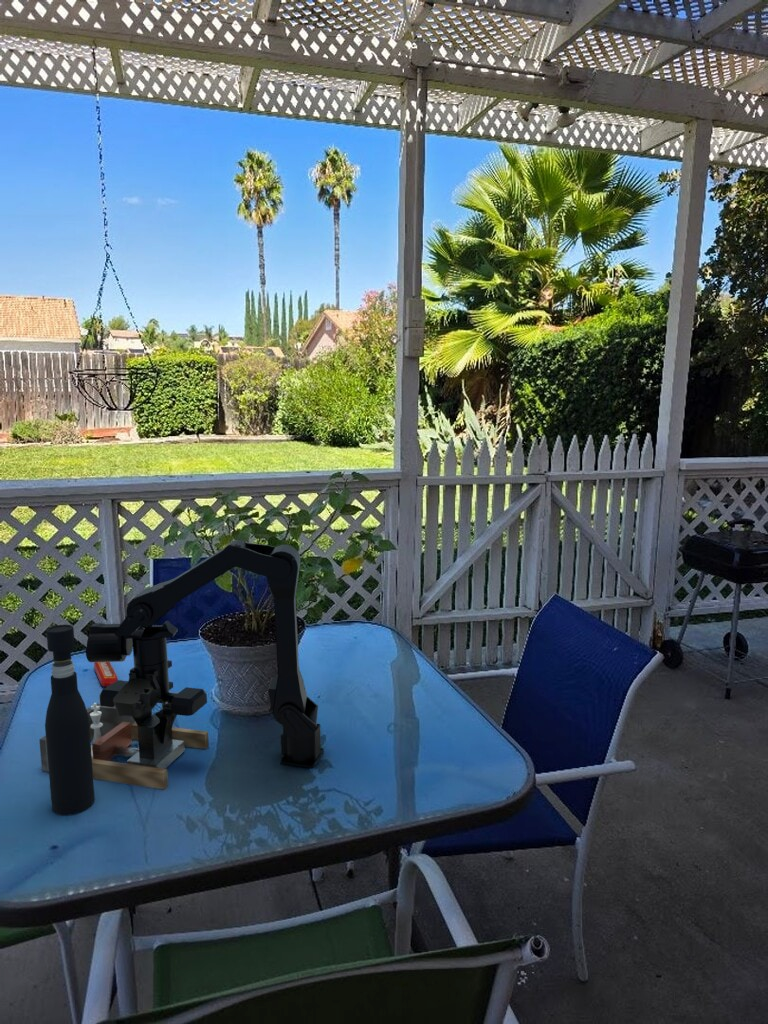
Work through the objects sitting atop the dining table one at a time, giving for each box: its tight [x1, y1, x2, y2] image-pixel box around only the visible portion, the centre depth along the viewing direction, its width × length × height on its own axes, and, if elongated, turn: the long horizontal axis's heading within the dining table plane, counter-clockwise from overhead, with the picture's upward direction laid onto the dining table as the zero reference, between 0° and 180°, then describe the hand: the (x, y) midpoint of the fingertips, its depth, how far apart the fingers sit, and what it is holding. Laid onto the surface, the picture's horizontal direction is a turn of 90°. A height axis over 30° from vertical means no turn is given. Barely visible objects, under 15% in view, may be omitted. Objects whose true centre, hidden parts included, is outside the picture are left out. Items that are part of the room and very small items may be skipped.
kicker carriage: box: [91, 711, 186, 769], centre depth 124 cm, size 13×9×8 cm
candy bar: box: [93, 662, 119, 687], centre depth 163 cm, size 16×4×3 cm, turn 30°
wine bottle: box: [44, 624, 96, 816], centre depth 109 cm, size 6×6×30 cm
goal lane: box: [38, 702, 210, 790], centre depth 125 cm, size 25×15×6 cm, turn 76°
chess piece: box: [90, 702, 103, 759], centre depth 127 cm, size 5×5×10 cm
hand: (155, 741), depth 124 cm, fingers closed on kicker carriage, 3 cm apart
